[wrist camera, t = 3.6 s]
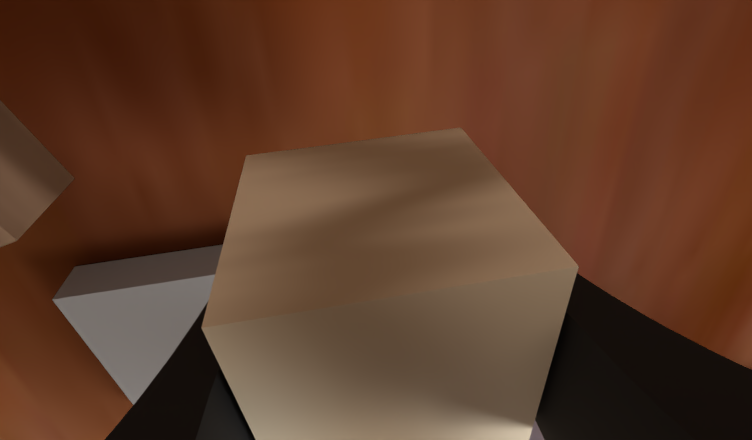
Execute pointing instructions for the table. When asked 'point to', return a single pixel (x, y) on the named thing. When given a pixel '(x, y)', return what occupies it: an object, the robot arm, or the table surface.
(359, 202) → the maple cube
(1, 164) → the walnut block
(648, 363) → the robot arm
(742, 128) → the table surface
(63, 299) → the plate
